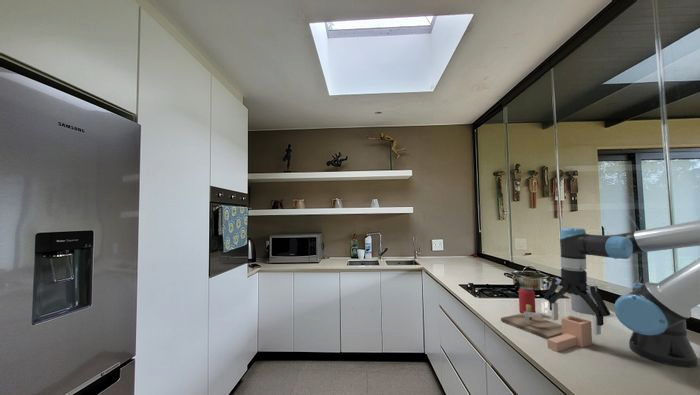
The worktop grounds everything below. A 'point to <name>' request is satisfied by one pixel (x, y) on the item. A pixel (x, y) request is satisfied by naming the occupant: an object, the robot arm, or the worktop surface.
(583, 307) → the cup
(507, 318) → the board
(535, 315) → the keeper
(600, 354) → the worktop surface
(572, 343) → the link
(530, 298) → the beer can
